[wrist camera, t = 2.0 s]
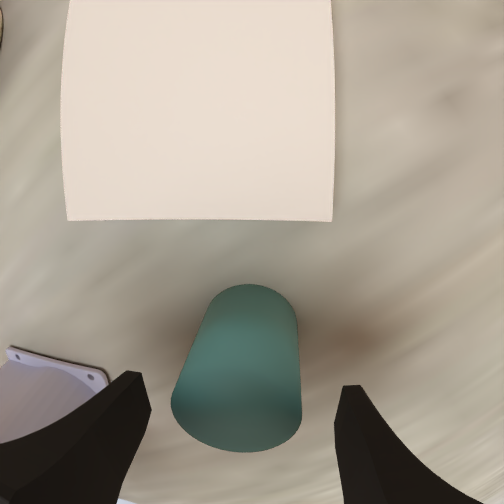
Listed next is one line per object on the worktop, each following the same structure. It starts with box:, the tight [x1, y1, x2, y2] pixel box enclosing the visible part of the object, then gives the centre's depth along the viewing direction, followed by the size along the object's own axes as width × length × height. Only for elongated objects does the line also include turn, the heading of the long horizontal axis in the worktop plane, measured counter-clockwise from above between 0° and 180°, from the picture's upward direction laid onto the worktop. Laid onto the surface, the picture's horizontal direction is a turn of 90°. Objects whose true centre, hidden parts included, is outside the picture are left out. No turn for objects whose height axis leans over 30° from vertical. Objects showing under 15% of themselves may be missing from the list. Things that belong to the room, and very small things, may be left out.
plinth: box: [61, 0, 335, 222], centre depth 11 cm, size 10×10×3 cm
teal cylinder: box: [171, 284, 302, 452], centre depth 13 cm, size 4×4×6 cm
